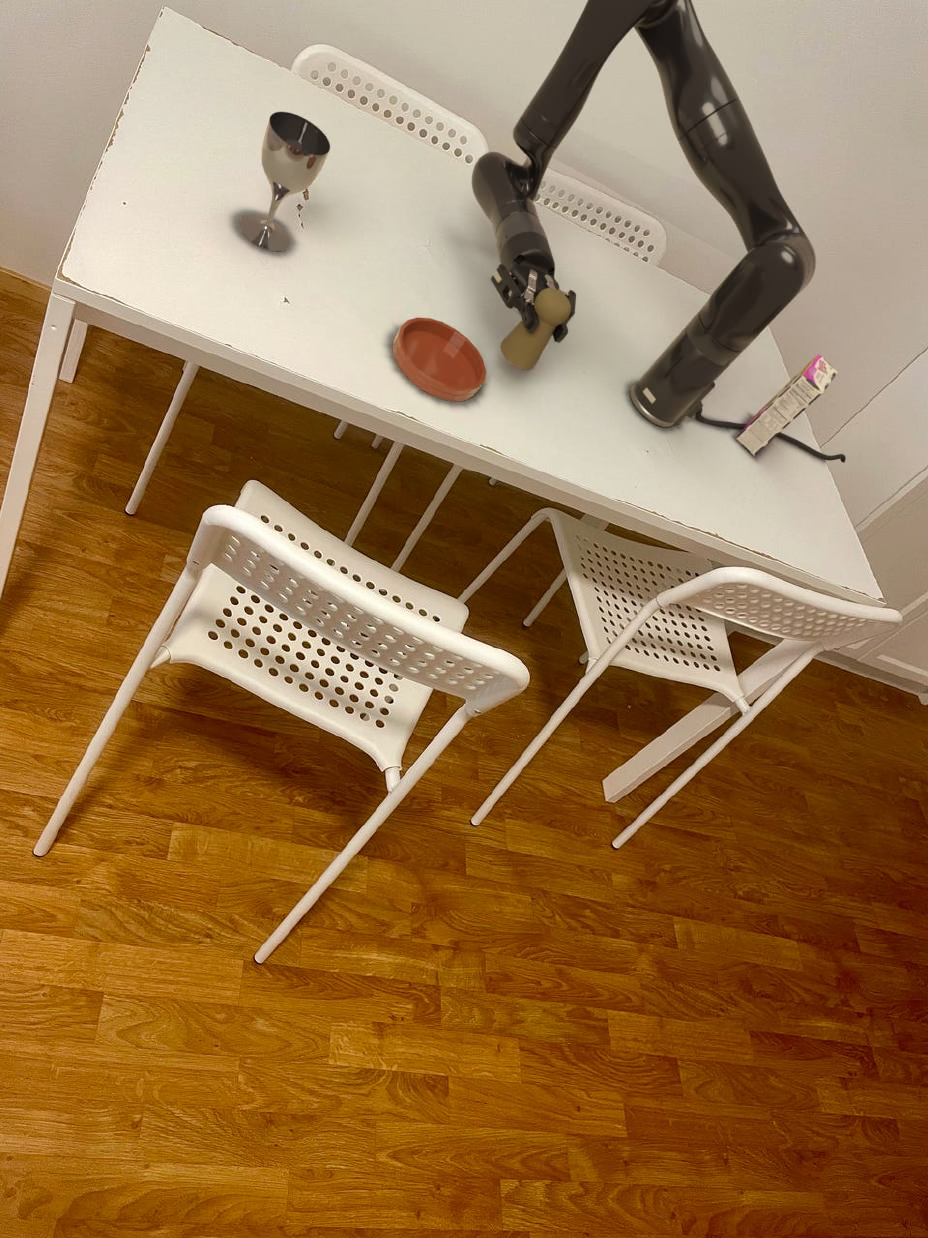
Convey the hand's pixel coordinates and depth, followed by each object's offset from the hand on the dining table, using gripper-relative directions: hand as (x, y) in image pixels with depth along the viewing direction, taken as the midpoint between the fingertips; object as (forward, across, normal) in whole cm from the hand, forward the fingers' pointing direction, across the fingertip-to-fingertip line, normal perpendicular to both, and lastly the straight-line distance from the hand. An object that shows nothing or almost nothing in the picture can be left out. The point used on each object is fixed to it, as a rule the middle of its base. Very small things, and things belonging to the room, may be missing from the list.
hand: (547, 332), depth 118 cm
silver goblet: (-17, -36, +11) cm, 42 cm away
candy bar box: (-6, +54, +11) cm, 55 cm away
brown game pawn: (-3, 0, +7) cm, 8 cm away
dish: (0, -12, +11) cm, 16 cm away
